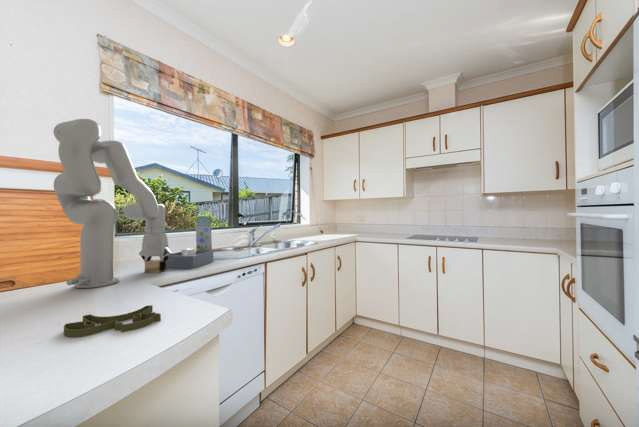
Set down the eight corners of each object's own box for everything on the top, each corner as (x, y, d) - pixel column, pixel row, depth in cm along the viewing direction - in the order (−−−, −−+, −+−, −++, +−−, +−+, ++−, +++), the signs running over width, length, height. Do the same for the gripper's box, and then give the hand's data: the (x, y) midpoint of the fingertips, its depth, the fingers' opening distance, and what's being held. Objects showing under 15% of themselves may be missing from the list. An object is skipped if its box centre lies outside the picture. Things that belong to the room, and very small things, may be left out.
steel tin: (179, 263, 134) (179, 250, 134) (186, 261, 141) (186, 248, 141) (191, 263, 134) (191, 250, 134) (198, 261, 141) (198, 248, 141)
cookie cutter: (160, 310, 72) (160, 303, 72) (160, 326, 61) (160, 318, 61) (71, 325, 62) (71, 316, 62) (54, 347, 52) (54, 336, 52)
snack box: (195, 255, 170) (195, 215, 170) (210, 254, 174) (210, 215, 174) (195, 260, 150) (195, 215, 150) (212, 259, 154) (212, 215, 154)
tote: (193, 268, 127) (193, 256, 127) (161, 268, 128) (161, 255, 128) (213, 261, 147) (213, 250, 147) (185, 261, 148) (185, 250, 148)
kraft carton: (157, 272, 118) (157, 261, 118) (144, 272, 118) (144, 261, 118) (166, 270, 124) (166, 259, 124) (153, 270, 124) (153, 259, 124)
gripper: (131, 231, 118) (131, 271, 118) (168, 231, 117) (168, 272, 117) (143, 230, 126) (144, 268, 126) (178, 230, 124) (178, 268, 124)
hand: (155, 269), depth 121 cm, fingers closed on kraft carton, 6 cm apart
